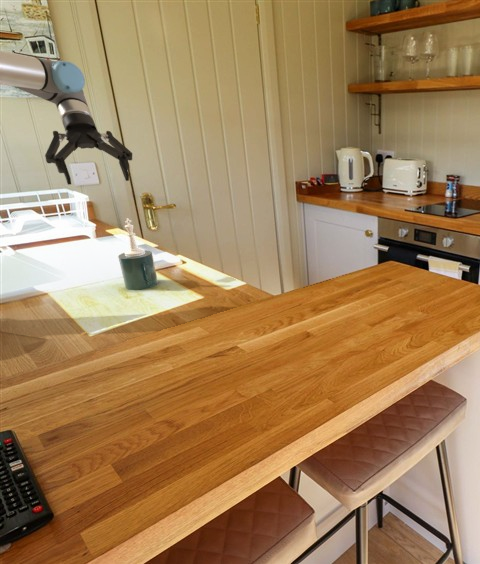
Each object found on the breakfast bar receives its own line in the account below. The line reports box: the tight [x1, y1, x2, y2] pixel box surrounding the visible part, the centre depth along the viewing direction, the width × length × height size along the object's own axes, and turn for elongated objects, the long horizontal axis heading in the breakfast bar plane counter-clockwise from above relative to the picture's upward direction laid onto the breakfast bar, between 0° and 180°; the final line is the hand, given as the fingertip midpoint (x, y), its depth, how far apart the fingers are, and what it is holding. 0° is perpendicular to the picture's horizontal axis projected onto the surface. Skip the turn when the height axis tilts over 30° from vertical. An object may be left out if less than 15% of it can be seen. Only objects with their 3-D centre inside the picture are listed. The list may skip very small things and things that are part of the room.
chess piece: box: [124, 217, 146, 257], centre depth 115 cm, size 5×5×10 cm
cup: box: [117, 249, 159, 291], centre depth 118 cm, size 10×8×9 cm
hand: (99, 179), depth 117 cm, fingers open, 13 cm apart
